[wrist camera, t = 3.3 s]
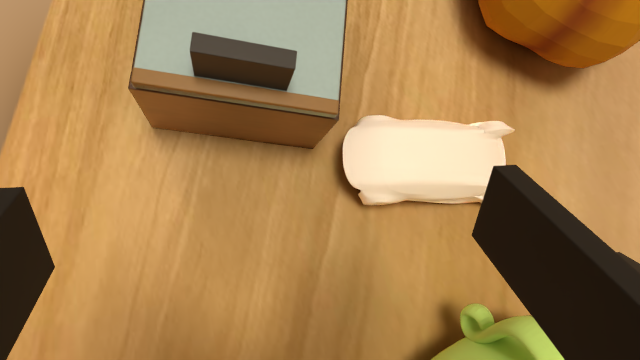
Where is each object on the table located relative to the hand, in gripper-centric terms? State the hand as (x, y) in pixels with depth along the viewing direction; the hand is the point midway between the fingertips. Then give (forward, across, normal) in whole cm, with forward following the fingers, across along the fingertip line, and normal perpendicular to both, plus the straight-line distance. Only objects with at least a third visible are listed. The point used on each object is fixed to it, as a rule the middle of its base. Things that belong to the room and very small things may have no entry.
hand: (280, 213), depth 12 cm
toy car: (+23, +16, -12) cm, 30 cm away
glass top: (+22, 0, +4) cm, 23 cm away
